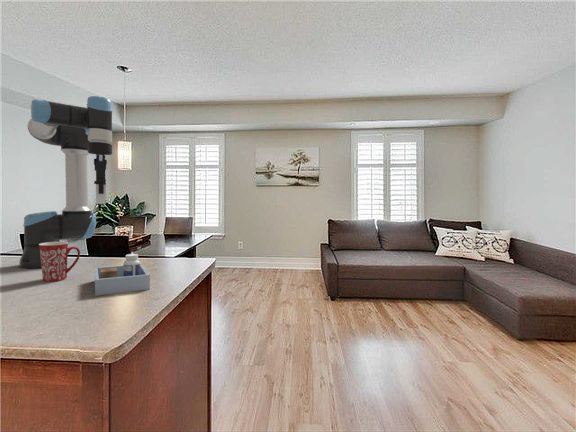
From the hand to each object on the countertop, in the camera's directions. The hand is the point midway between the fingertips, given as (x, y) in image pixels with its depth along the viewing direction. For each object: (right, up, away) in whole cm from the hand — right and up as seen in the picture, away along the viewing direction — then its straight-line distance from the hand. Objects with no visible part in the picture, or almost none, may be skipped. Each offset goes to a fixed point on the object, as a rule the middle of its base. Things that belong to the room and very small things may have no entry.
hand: (100, 203), depth 118 cm
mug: (-19, -28, +6) cm, 34 cm away
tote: (+8, -29, 0) cm, 30 cm away
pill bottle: (+10, -28, +1) cm, 30 cm away
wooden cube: (+4, -28, -2) cm, 29 cm away
